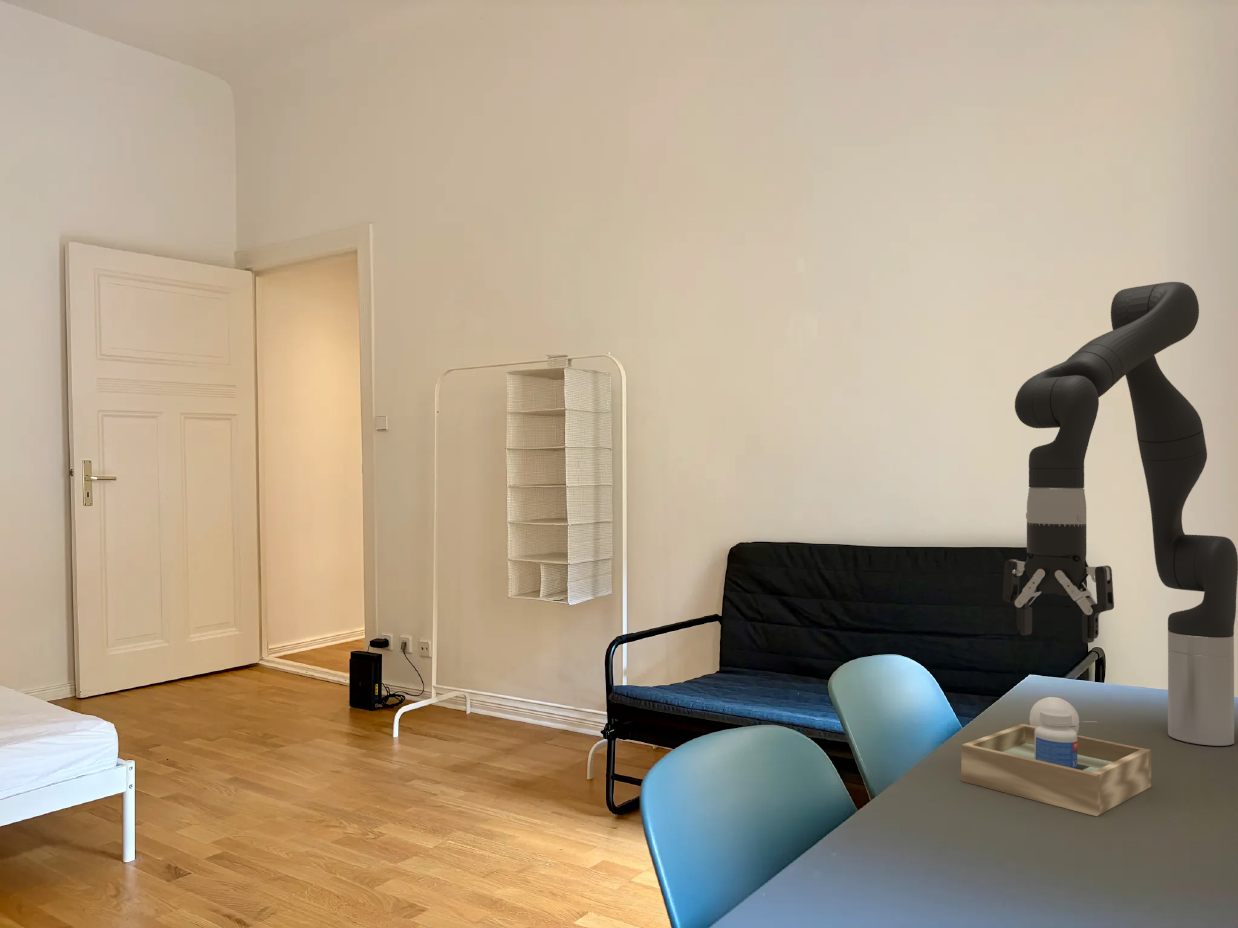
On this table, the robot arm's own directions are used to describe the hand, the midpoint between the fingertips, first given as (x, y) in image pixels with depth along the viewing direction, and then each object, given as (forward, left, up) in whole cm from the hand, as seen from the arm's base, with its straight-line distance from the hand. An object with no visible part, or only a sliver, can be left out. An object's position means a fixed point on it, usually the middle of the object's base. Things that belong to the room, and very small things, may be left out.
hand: (1056, 637), depth 130 cm
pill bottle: (0, 0, -20) cm, 20 cm away
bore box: (0, 0, -20) cm, 20 cm away
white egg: (-21, -8, -20) cm, 30 cm away
